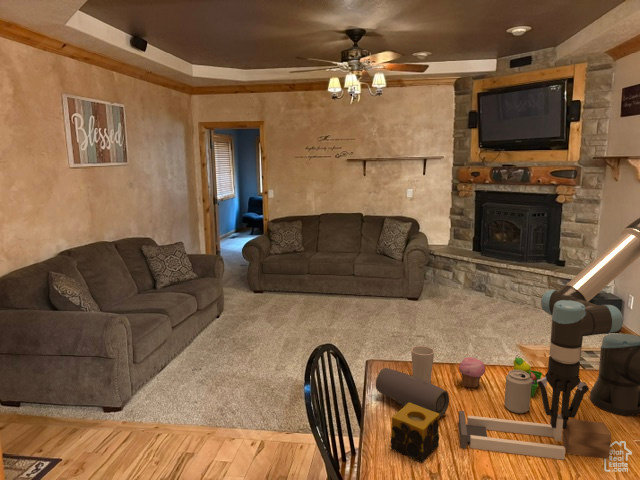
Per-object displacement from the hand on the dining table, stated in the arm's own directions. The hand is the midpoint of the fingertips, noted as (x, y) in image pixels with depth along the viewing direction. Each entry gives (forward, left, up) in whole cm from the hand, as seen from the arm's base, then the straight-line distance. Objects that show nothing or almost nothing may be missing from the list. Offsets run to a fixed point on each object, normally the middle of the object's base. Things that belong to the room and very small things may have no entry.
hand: (557, 438), depth 133 cm
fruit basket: (+2, -33, -3) cm, 33 cm away
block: (-7, 0, -2) cm, 8 cm away
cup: (+37, -31, -3) cm, 49 cm away
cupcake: (+20, -32, -3) cm, 38 cm away
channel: (+11, 0, -2) cm, 12 cm away
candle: (+38, +9, -3) cm, 40 cm away
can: (+7, -19, -3) cm, 21 cm away
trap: (+21, 0, -2) cm, 22 cm away
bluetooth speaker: (+40, -13, -3) cm, 43 cm away
